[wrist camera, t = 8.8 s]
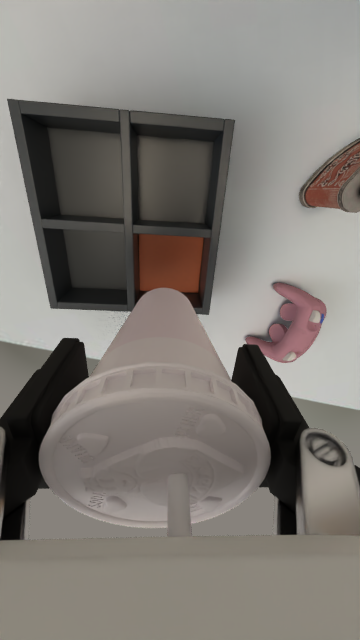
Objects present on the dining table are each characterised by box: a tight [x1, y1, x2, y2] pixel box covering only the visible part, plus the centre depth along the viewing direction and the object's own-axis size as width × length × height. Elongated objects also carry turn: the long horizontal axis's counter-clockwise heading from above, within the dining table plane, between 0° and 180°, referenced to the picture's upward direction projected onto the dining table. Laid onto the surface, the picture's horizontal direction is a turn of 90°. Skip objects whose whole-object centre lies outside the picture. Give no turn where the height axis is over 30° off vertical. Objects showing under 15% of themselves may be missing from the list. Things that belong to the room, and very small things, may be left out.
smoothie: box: [39, 288, 271, 537], centre depth 9 cm, size 6×6×14 cm
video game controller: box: [246, 283, 326, 363], centre depth 31 cm, size 10×5×7 cm, turn 162°
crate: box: [7, 99, 235, 315], centre depth 25 cm, size 17×17×5 cm
